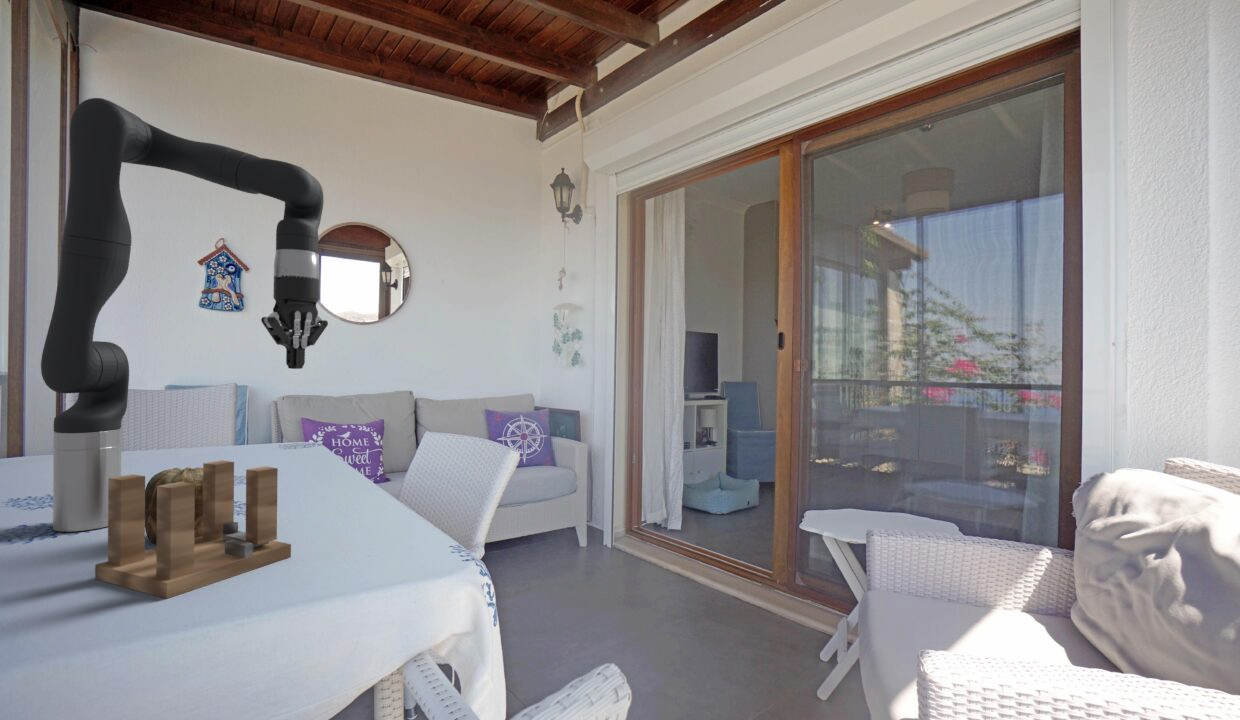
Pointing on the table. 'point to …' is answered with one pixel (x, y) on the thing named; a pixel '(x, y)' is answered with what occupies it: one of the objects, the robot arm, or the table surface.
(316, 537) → the table surface
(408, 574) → the table surface
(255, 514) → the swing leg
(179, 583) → the wooden peg stand
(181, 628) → the table surface
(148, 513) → the shell
